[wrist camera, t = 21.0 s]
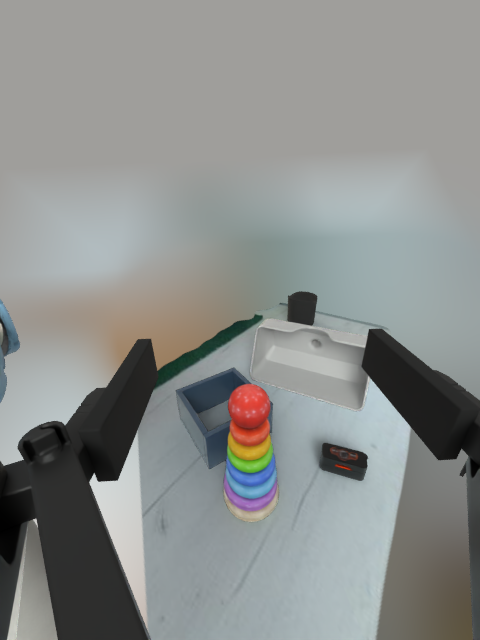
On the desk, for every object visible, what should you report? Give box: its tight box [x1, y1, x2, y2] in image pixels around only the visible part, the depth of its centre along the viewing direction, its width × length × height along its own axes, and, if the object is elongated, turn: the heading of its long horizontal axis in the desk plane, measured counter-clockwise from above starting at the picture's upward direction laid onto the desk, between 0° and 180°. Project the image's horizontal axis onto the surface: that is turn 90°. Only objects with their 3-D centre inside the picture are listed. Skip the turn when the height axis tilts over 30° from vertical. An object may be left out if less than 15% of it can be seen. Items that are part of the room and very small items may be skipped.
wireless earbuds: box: [320, 443, 368, 481], centre depth 40 cm, size 5×7×3 cm, turn 71°
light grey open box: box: [250, 318, 370, 411], centre depth 59 cm, size 25×16×12 cm, turn 62°
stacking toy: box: [223, 384, 279, 522], centre depth 33 cm, size 8×8×19 cm
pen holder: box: [288, 292, 317, 326], centre depth 86 cm, size 9×9×10 cm
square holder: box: [176, 368, 273, 469], centre depth 47 cm, size 13×13×7 cm
